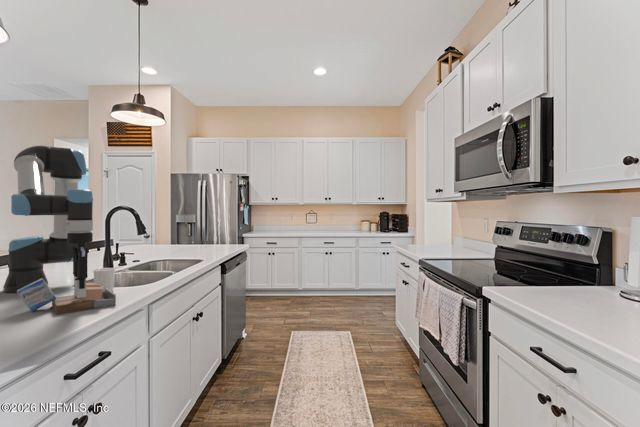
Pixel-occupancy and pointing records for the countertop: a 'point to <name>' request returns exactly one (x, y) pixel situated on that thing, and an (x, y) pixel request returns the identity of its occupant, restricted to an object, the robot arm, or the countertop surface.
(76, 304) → the walnut plate
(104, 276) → the white cup
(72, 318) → the countertop surface
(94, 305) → the tray
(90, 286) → the tile
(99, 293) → the tile
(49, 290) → the medicine box
